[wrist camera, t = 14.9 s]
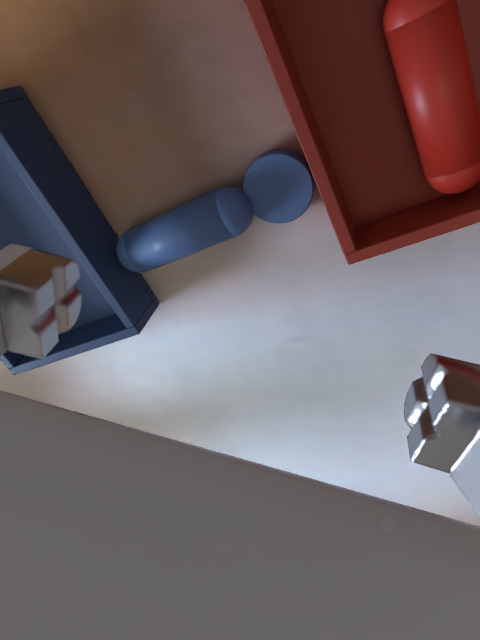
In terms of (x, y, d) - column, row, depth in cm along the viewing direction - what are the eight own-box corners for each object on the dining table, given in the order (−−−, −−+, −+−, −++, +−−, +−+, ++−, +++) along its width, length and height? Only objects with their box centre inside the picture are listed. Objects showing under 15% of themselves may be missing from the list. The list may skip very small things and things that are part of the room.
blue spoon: (114, 222, 27) (94, 240, 24) (298, 136, 22) (293, 148, 20) (146, 272, 28) (130, 293, 26) (324, 202, 23) (322, 220, 21)
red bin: (232, -66, 18) (210, -82, 15) (548, -291, 14) (601, -373, 11) (348, 236, 24) (348, 265, 21) (593, 149, 20) (634, 171, 17)
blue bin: (-101, 171, 28) (-153, 189, 25) (20, 85, 23) (-26, 94, 20) (42, 345, 34) (13, 375, 31) (160, 303, 29) (139, 334, 26)
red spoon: (416, 196, 22) (423, 214, 20) (332, -91, 17) (329, -107, 15) (497, 166, 20) (514, 183, 18) (432, -158, 15) (446, -187, 13)
